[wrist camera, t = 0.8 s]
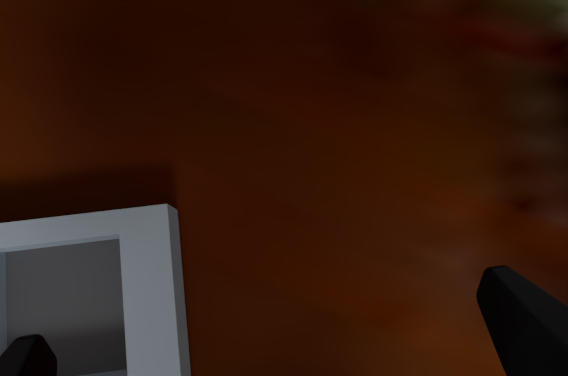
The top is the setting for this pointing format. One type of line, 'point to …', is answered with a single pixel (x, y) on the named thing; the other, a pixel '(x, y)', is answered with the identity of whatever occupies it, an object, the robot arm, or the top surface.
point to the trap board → (98, 290)
